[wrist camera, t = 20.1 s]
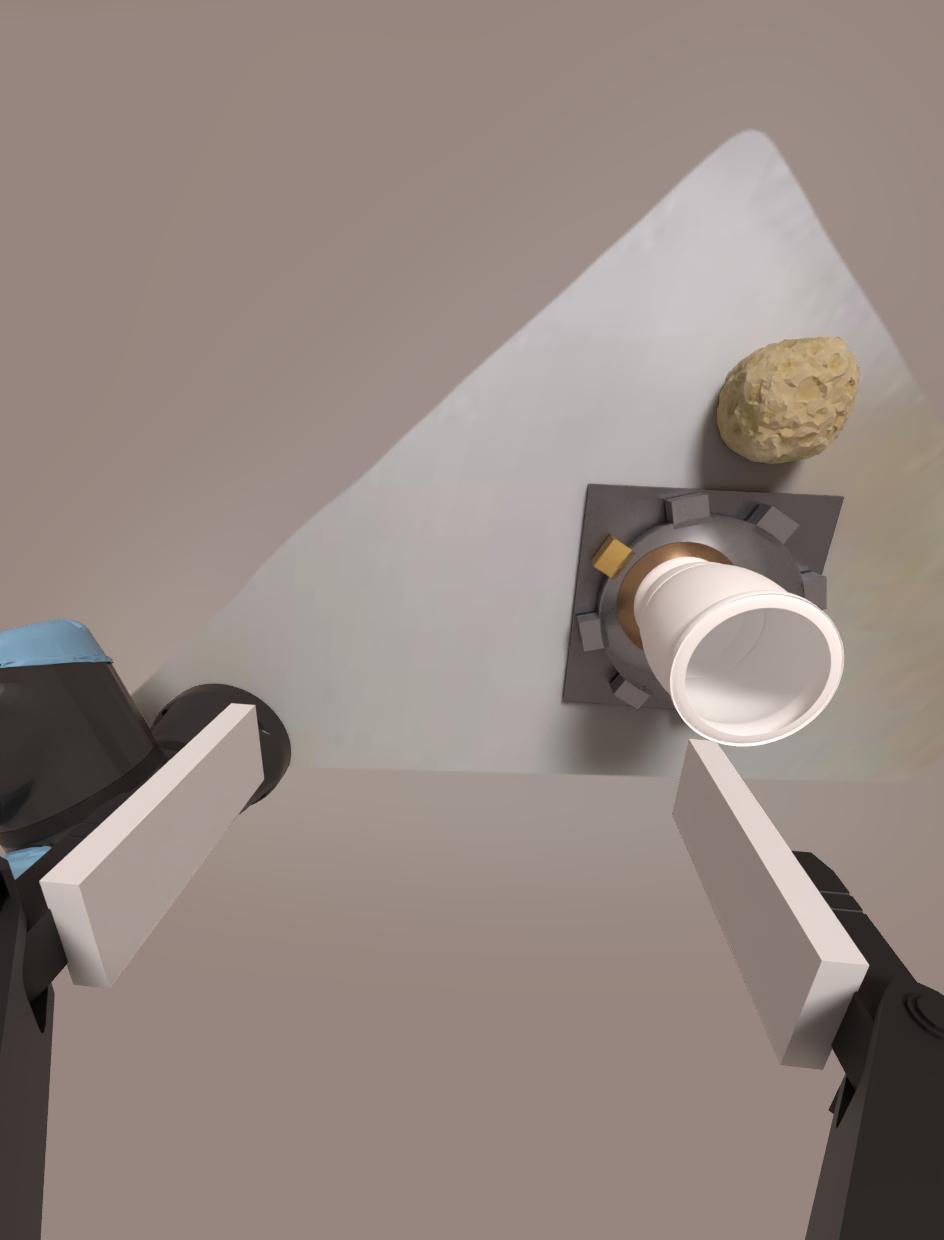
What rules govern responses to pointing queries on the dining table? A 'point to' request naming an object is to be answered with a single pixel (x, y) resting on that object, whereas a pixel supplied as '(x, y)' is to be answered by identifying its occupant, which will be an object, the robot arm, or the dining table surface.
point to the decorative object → (788, 399)
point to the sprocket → (678, 537)
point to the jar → (736, 650)
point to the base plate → (643, 509)
